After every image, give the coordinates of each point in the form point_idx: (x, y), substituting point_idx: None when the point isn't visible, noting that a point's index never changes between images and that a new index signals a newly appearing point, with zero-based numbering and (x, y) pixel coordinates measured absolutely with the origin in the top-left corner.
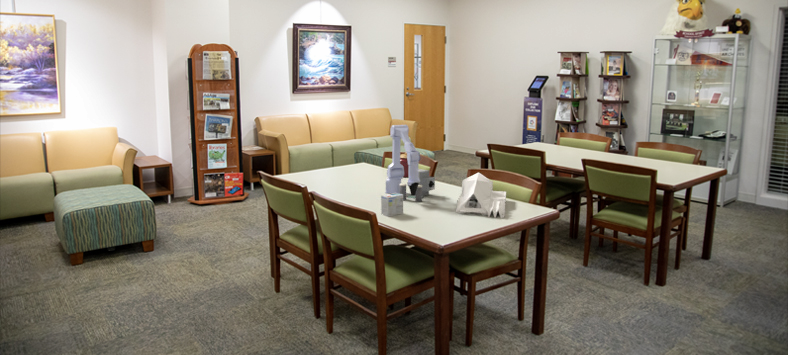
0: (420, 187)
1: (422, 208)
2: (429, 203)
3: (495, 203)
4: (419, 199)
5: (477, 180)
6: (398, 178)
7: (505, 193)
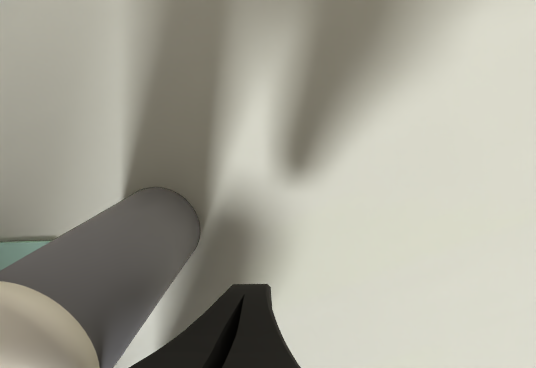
0: (53, 300)
1: (519, 14)
2: (201, 47)
3: None
4: (178, 212)
5: None
6: None
7: None
